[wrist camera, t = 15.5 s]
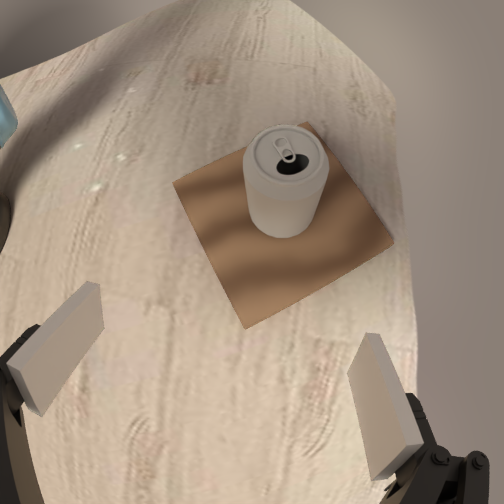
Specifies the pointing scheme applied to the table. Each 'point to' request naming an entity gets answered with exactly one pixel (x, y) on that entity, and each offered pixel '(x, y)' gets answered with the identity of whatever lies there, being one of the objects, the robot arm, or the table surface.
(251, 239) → the walnut board
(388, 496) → the robot arm
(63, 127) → the table surface
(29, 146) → the table surface
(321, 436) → the table surface
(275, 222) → the can
